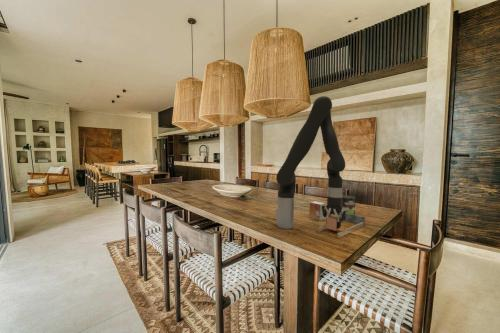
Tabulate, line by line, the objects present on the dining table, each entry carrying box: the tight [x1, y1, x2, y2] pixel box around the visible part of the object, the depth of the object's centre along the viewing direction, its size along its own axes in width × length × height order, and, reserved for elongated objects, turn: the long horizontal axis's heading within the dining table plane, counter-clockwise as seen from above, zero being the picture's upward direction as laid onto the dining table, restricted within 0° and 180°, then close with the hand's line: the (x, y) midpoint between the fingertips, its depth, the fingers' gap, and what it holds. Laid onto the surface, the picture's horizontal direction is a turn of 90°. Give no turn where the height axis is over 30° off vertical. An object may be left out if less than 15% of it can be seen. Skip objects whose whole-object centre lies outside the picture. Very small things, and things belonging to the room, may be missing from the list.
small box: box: [308, 200, 326, 221], centre depth 136 cm, size 8×6×10 cm
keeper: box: [327, 215, 341, 232], centre depth 114 cm, size 5×5×6 cm
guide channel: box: [317, 213, 366, 239], centre depth 119 cm, size 12×30×5 cm, turn 129°
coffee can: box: [340, 194, 357, 217], centre depth 138 cm, size 10×10×14 cm
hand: (333, 226), depth 114 cm, fingers closed on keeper, 5 cm apart
